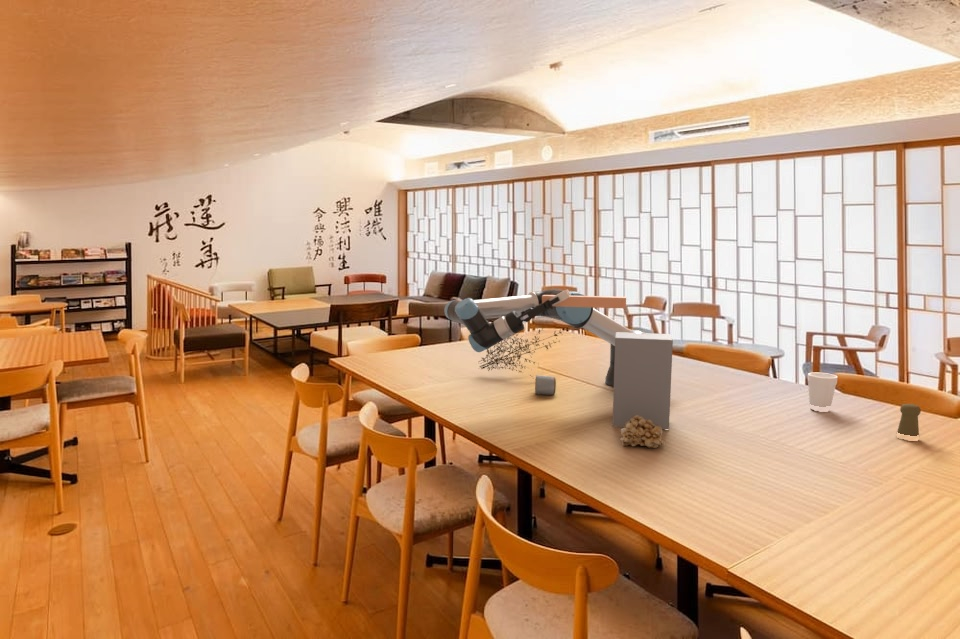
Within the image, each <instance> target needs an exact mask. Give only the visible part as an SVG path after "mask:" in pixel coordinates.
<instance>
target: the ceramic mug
mask: <svg viewBox="0 0 960 639" xmlns="http://www.w3.org/2000/svg"><path fill="white" fill-rule="evenodd" d="M534 382H535V383H534V394H535V395H542V396H543V395H544V396H545V395H550V396H551V395H555V393H556V391H557V390H556V388H557V385H556V384H557V378H556V377H555V376H551V375H550V376H549V375H540V374H539V375H538V374H536V375H535V380H534Z"/></svg>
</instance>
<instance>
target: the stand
mask: <svg viewBox="0 0 960 639" xmlns="http://www.w3.org/2000/svg"><path fill="white" fill-rule="evenodd" d="M673 342H674V340H673V337H672V334H671V333H649V332H648V333H647V332H642V333H629V332H616V336H615V363H614V386H613V395H612V396H613V398H612V399H613V401H612V427H614V426H617V428H624V426H625V424H626V422H628V421H630V419H632V418H633V417H634V416H635V415H639V417H643V419H645V420H649V419H650V420H651V421H652V423H653V424H654V425H655V426H659V427H661V429H669V430H670V414H671V413H670V412H671V409H670V408H671V392H672V391H671V390H672V389H671V388H672V367H673V363H672V362H673V348H674V347H673V344H674V343H673ZM625 427H626V426H625Z"/></svg>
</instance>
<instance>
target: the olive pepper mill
mask: <svg viewBox="0 0 960 639" xmlns="http://www.w3.org/2000/svg"><path fill="white" fill-rule="evenodd" d="M899 408H900V410H899V411H900V413H901V417H900V420H899V424H898V427H897V431H896V433H897V432H898V433H900V434H904V435H910V436H917V435H919V436H920V432H919V431H920V430H919V415H920V414H921V413H922V412H921V411H922V410H921V406H919V405H917V404H914V403H903V404H902V405H900V407H899Z"/></svg>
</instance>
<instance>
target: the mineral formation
mask: <svg viewBox="0 0 960 639" xmlns="http://www.w3.org/2000/svg"><path fill="white" fill-rule="evenodd" d="M625 426H626V427H625ZM625 426H624V427H622V428H621V429H620V434H621V436H622V437H620V439H619V440H620V442H621V444H622V446H624V447H625V446H632V447H636V446H637V445H640V446H641V447H642V446H643V447H644V446H646V447H647V448H652V449H657V448H659V445H660V446H665V445H666V442H665V440H663V438H662V435H663V434H664V433H663V430H662V429H661V427H659V426H655V425H654V424H653V423H652V421H651V420H650V419H649V420H645V419H643V417H639V415H635V416H634V417H633V418H632V419H630V421H628V422H626V424H625Z"/></svg>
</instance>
